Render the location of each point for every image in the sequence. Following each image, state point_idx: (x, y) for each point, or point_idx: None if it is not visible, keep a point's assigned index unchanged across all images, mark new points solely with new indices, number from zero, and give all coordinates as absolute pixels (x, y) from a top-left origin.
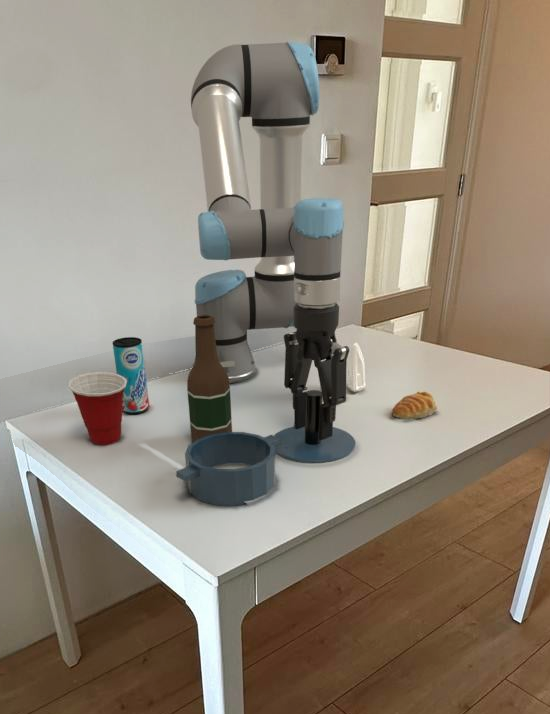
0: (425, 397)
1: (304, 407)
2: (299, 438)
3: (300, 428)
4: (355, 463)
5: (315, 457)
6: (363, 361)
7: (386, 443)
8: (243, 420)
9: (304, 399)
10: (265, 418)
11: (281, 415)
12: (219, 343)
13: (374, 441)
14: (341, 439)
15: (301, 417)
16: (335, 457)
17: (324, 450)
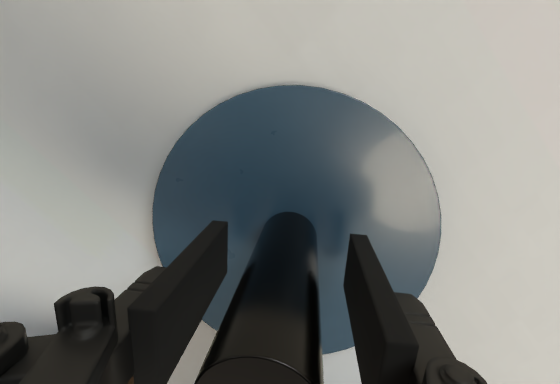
0: None
1: (196, 283)
2: (240, 247)
3: (184, 186)
4: (473, 232)
5: None
6: None
7: (488, 19)
8: (5, 224)
9: (175, 313)
10: (27, 167)
11: (35, 109)
12: None
13: (436, 40)
14: (356, 159)
15: (212, 274)
16: (424, 279)
17: None
